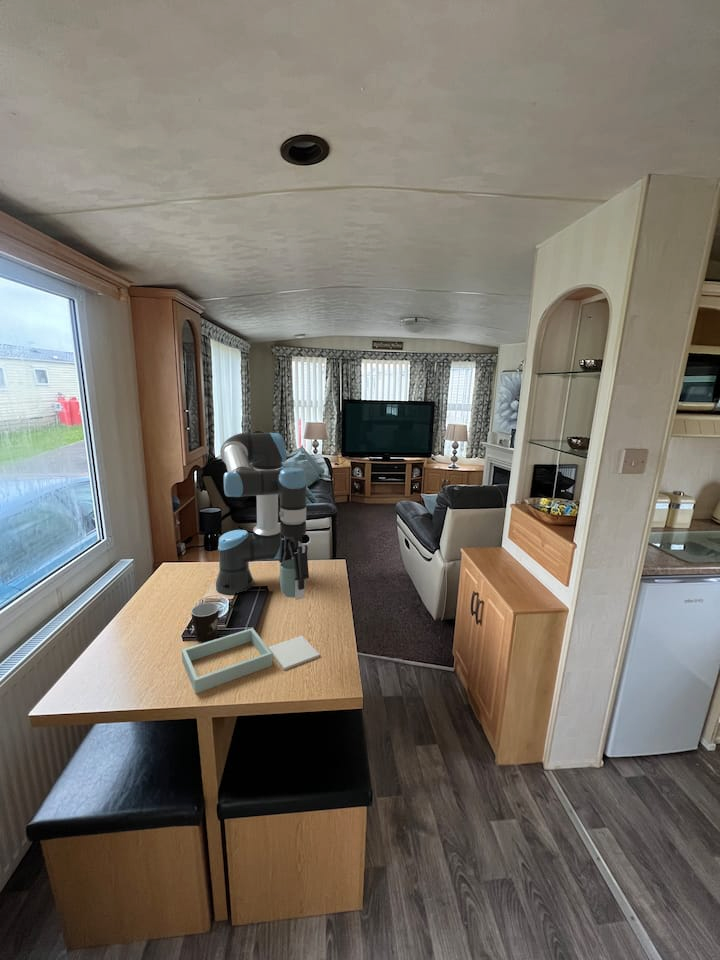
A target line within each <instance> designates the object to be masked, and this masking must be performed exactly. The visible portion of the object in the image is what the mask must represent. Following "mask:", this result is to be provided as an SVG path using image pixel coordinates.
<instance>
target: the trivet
mask: <svg viewBox="0 0 720 960" xmlns="http://www.w3.org/2000/svg"><path fill="white" fill-rule="evenodd" d="M267 647H268V649H269V650H270V651H271V653H272V657H273V658H274V659H275V660H276V662H277V663H278V664H279V666H280V667H281V668H282V670H283V671H286V670H288V669H291V668H294V667H296V666H299V665H302V664H304V663H307V662H309V661H311V660H314V659H317V658H320V655H321V654H320V653H319V652H318V651H317V650H316V649H315V647H314V646H313V645H311V643H310V642H309V641H308V640H307V639H306V638H305V637H304V636H303V635H299V636H296V637H294V638H290V639H287V640H285V641H282V642H279V643H277V644H273V645H271V646H270V645H269V646H267Z"/></svg>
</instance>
